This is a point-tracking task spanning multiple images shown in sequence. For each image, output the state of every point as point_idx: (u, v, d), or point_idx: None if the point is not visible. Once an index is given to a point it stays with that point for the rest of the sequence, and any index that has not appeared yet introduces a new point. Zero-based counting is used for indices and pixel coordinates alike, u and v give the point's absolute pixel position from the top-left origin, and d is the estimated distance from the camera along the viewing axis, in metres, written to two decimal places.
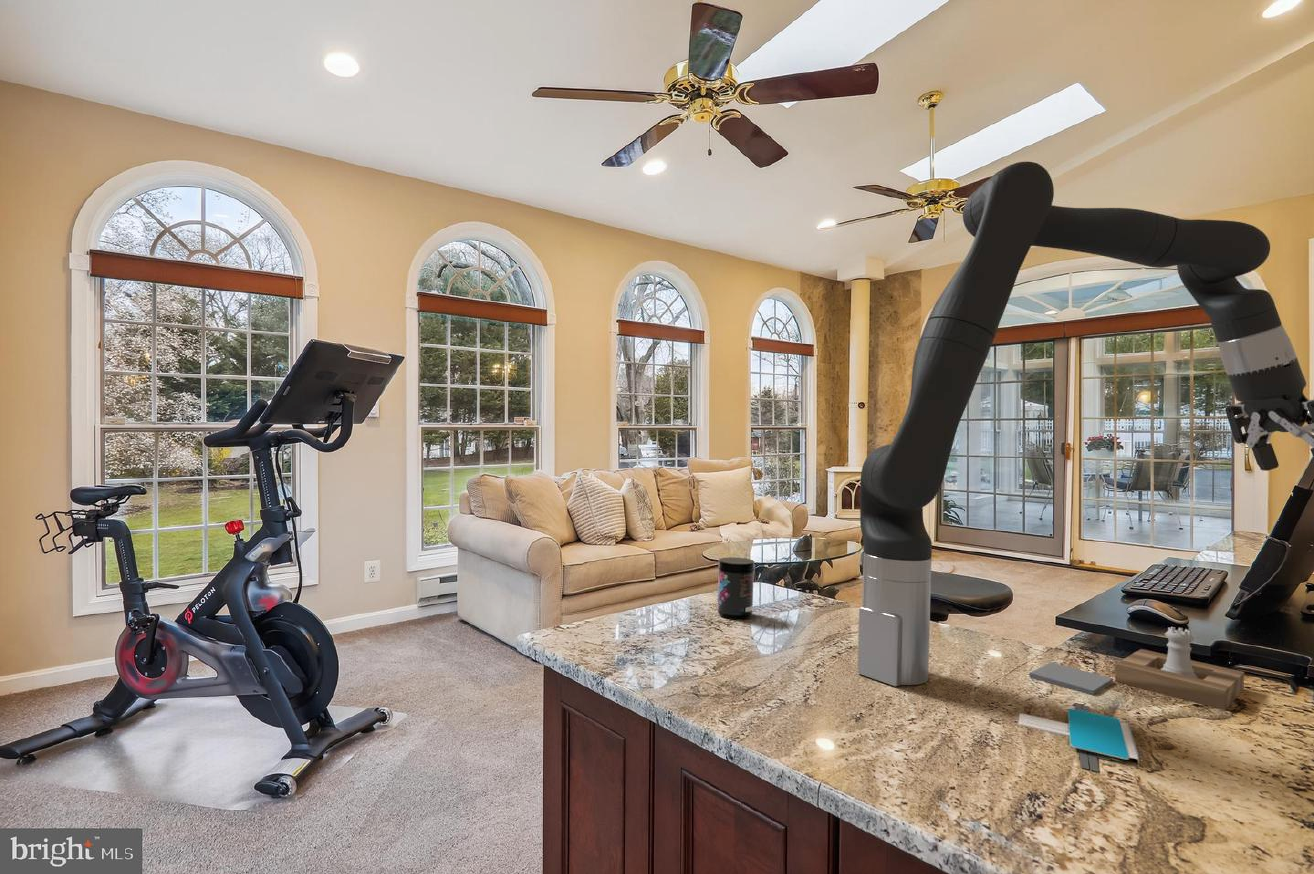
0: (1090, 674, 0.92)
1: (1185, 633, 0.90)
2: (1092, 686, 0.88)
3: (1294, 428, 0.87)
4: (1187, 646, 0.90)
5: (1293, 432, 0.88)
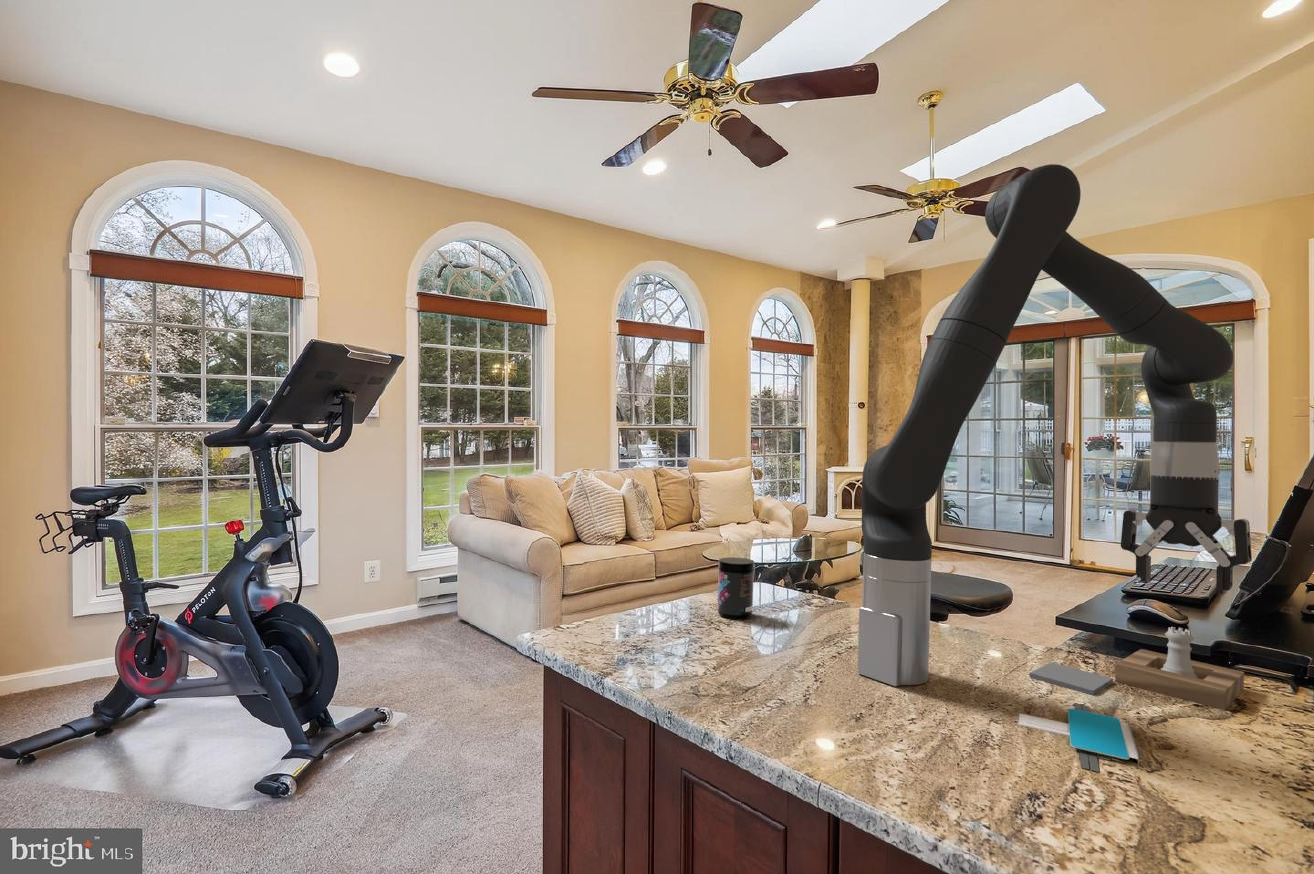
0: (1090, 674, 0.92)
1: (1185, 633, 0.90)
2: (1092, 686, 0.88)
3: (1211, 543, 0.87)
4: (1187, 646, 0.90)
5: (1208, 547, 0.87)
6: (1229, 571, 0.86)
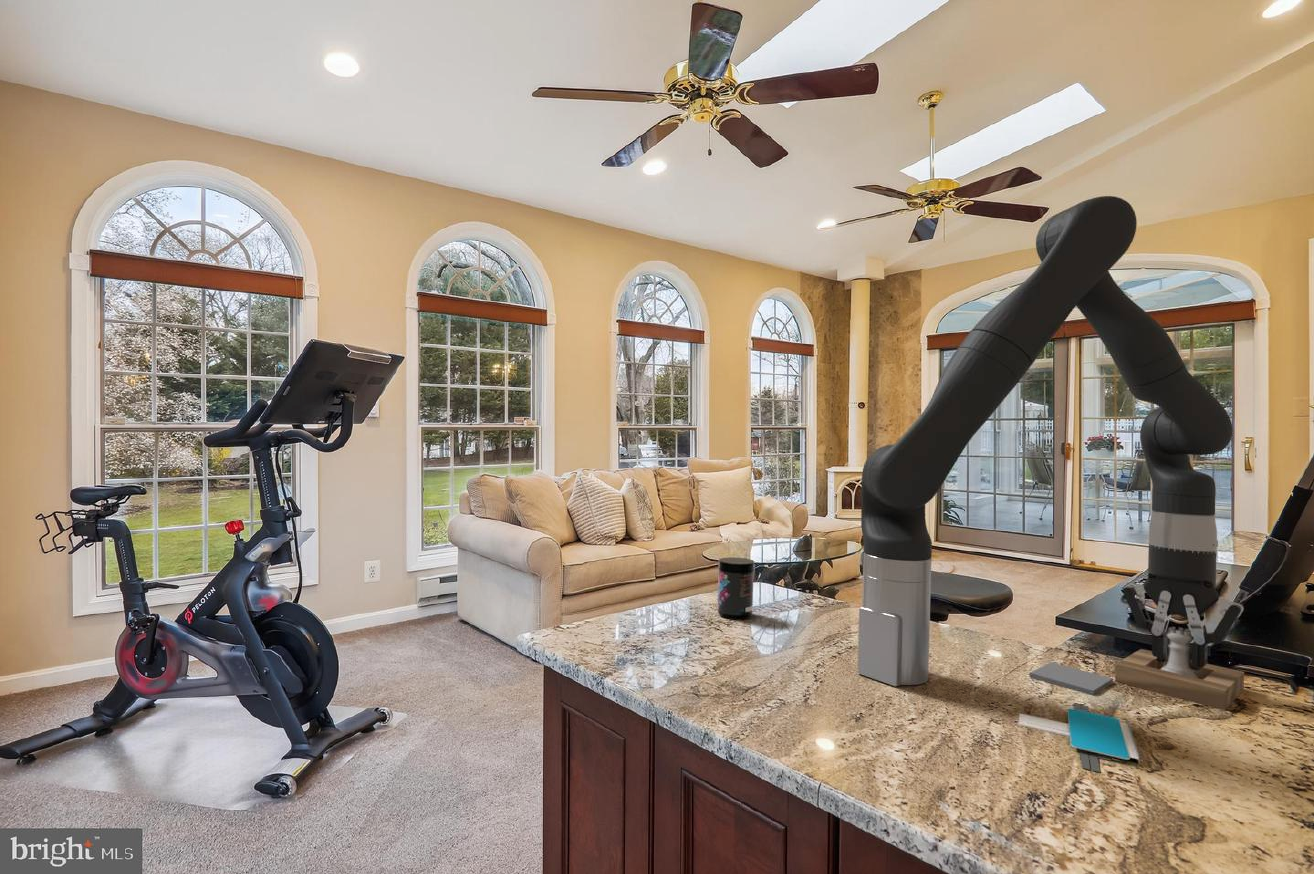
0: (1090, 674, 0.92)
1: (1185, 633, 0.90)
2: (1092, 686, 0.88)
3: (1197, 620, 0.88)
4: (1187, 646, 0.90)
5: (1193, 622, 0.88)
6: (1204, 648, 0.88)
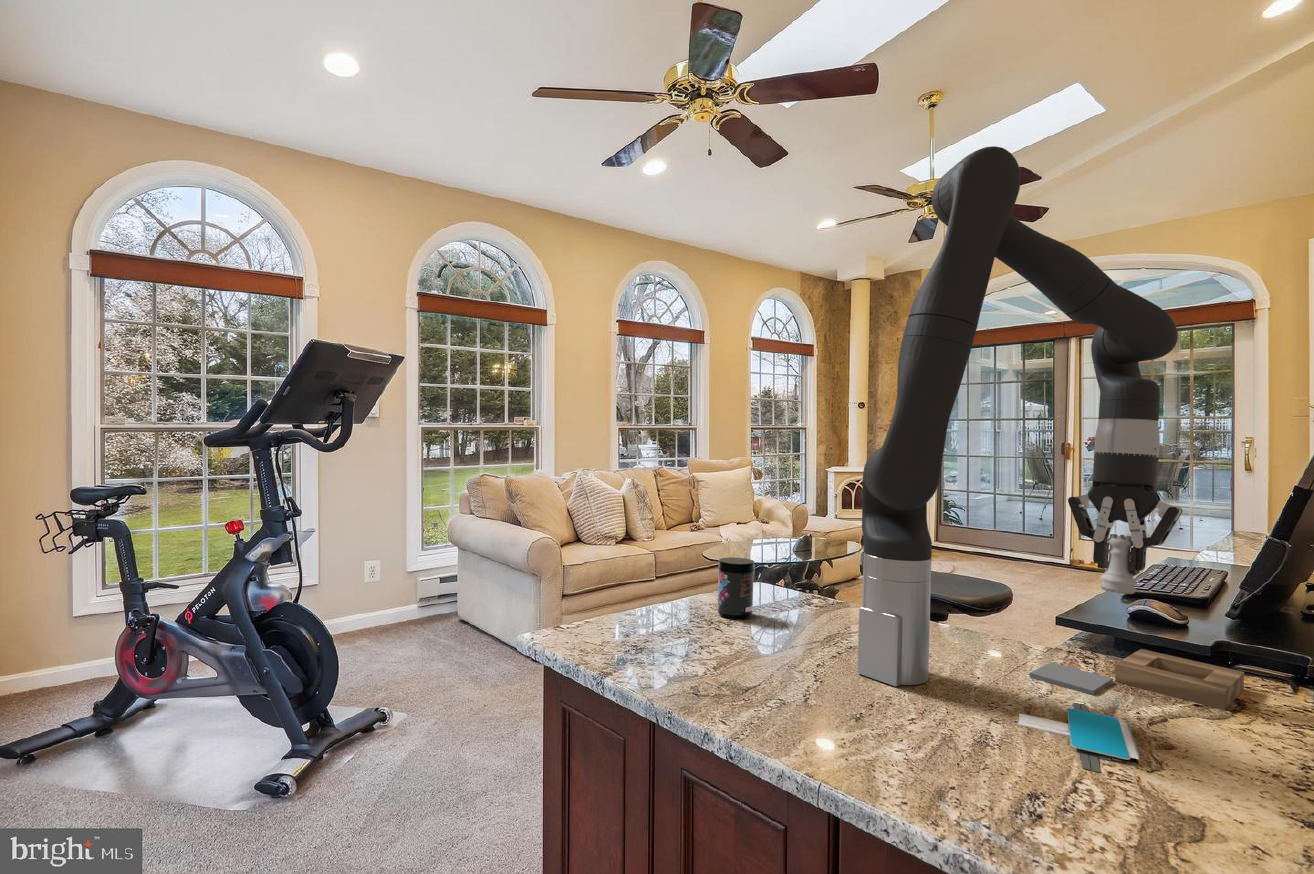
0: (1090, 674, 0.92)
1: (1125, 538, 0.90)
2: (1092, 686, 0.88)
3: (1137, 523, 0.89)
4: (1127, 551, 0.90)
5: (1132, 525, 0.89)
6: (1142, 552, 0.89)
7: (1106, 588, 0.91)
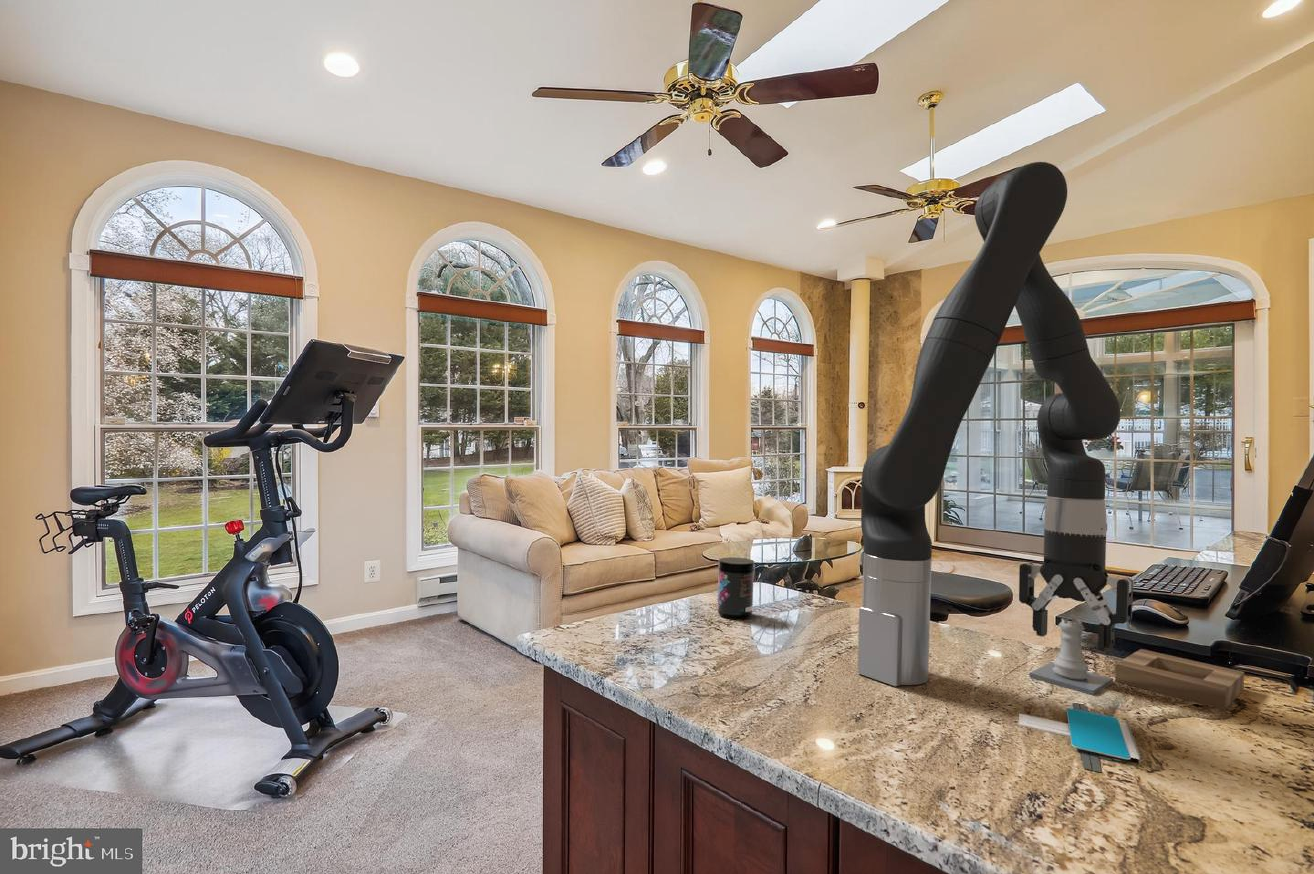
0: (1090, 674, 0.92)
1: (1076, 623, 0.91)
2: (1092, 686, 0.88)
3: (1094, 600, 0.88)
4: (1078, 636, 0.91)
5: (1092, 604, 0.88)
6: (1110, 629, 0.88)
7: (1059, 674, 0.91)
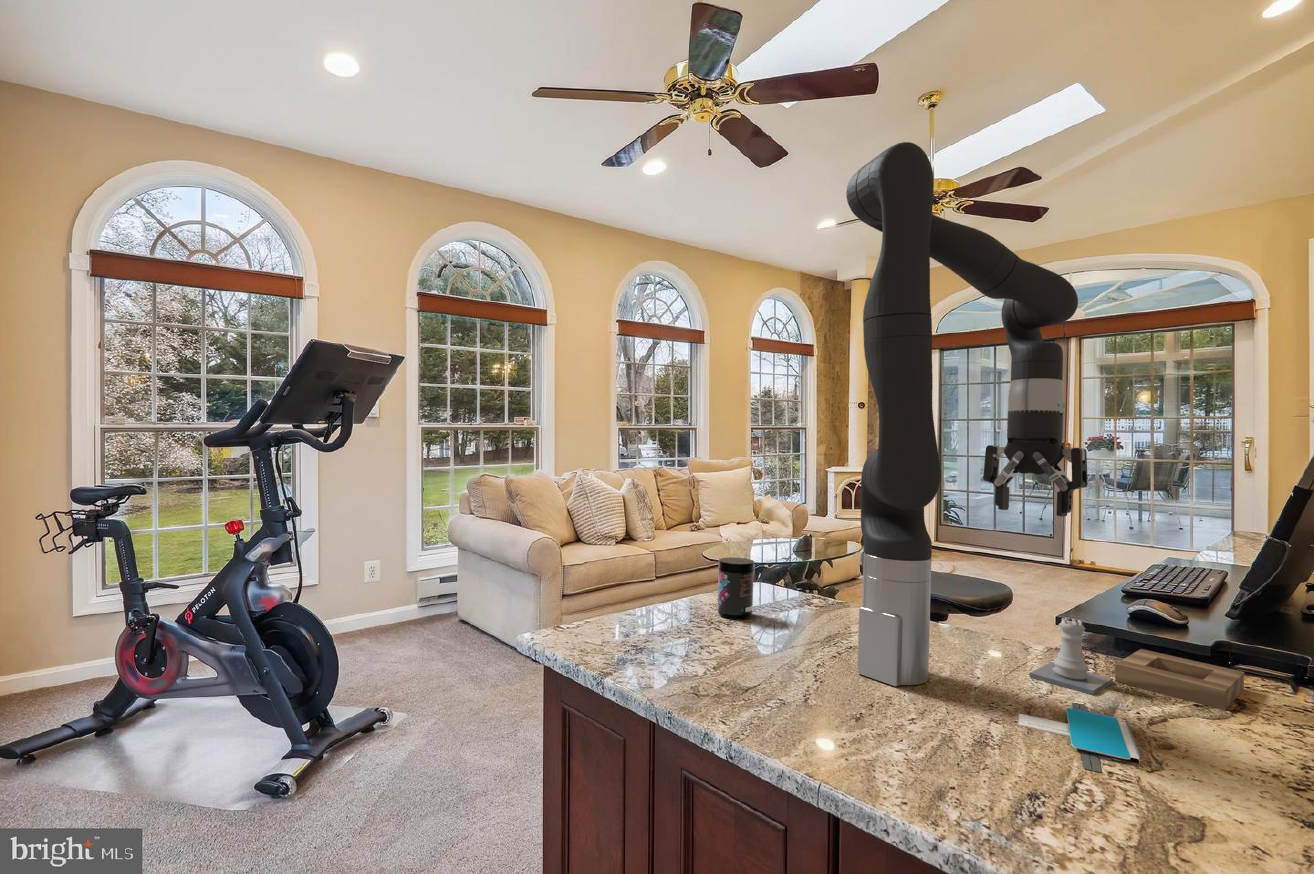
0: (1090, 674, 0.92)
1: (1076, 623, 0.91)
2: (1092, 686, 0.88)
3: (1052, 470, 0.96)
4: (1078, 636, 0.91)
5: (1050, 473, 0.96)
6: (1067, 495, 0.95)
7: (1059, 674, 0.91)
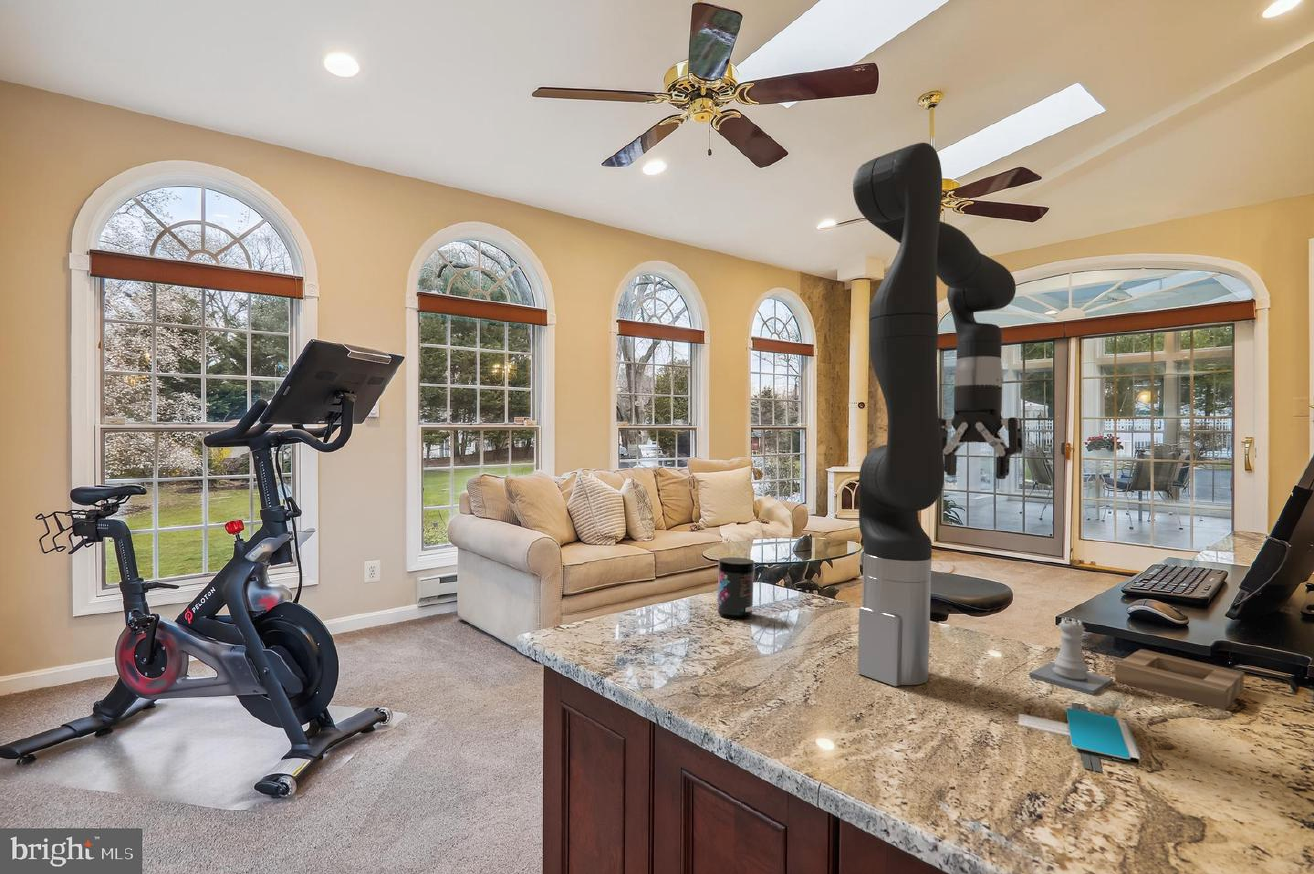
0: (1090, 674, 0.92)
1: (1076, 623, 0.91)
2: (1092, 686, 0.88)
3: (992, 438, 1.07)
4: (1078, 636, 0.91)
5: (990, 441, 1.08)
6: (1005, 460, 1.07)
7: (1059, 674, 0.91)
